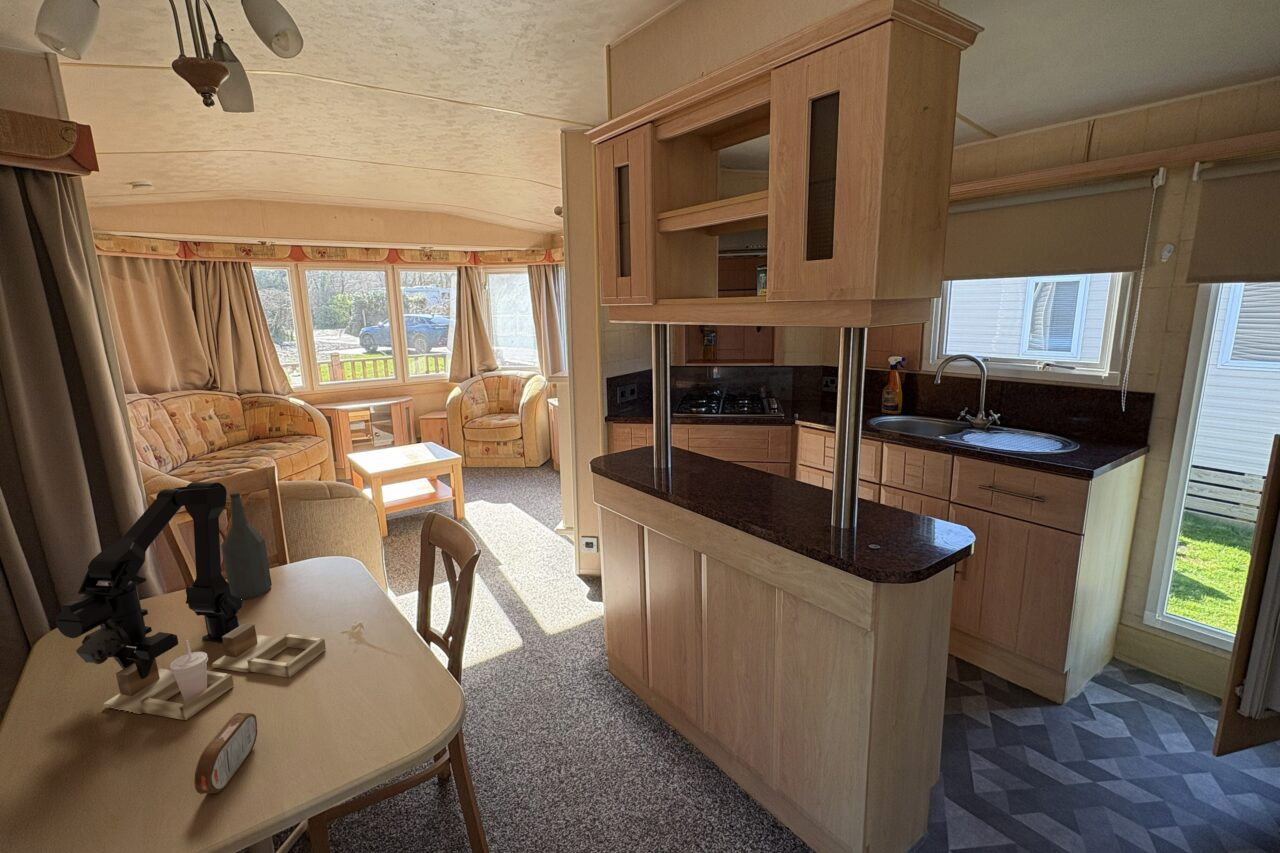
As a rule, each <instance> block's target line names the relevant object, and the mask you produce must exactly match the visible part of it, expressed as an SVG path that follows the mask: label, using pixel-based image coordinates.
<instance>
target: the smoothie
mask: <svg viewBox="0 0 1280 853" xmlns="http://www.w3.org/2000/svg"><path fill="white" fill-rule="evenodd" d="M184 642H185V646H186V650H187V653H186V654H183V655H181V656H179V657H177V658H176V659H174V660H173V661H171V663H170V664H169V670H170V672H171V673H173V674H174V677H175V679H176V681H177V684H178V686H179V689H180V691H179V692H180V693H181V695H182V699H183V701H184V704H185V703H187V702H188V701H190V700H191V699H193V698H194V697H196V696H197V695H198V694H200V693H201V692H203V691H204V690H206V689H207V688H208V685H207V671H208V669H207V668H208V666H207V663H208V661H209V657H208V653H206V652H204V651H193V652H192V649H191V644H190V640H189V639H185V641H184Z"/></svg>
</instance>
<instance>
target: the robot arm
mask: <svg viewBox="0 0 1280 853" xmlns="http://www.w3.org/2000/svg"><path fill="white" fill-rule="evenodd" d="M227 494H228V493H227V487H226V486H225V485H223V484H222V483H221V482H213V481H212V482H211V481H209V482H208V481H192V482H190V483H188V484H187V485H185V486H177V487H173V488H164V489H162V490H160V491H159V492H158V493H157V495H156V498H155V499H154V500H153V502H152V503H151V504H150V505H149V506H148V508H147V509H146V510H145V511H144V512H143V513H142V514H141V516H140V517H139V518H138V519H137V521H135V523H134V524H133V525H132V526H131V527H130V529H128V530H127V532H126V533H125V534H124V535H123V537H121V538H120V539H119V540H118V541H116V542H114V543H112V544H111V545H108V546H106V547H105V548H104V549H102V551H100V552H99V553H98V554H97V555H96V556H94V557H93V558H92V559H91V561H90V562H89V563H88V566H87V572H86V573H85V576H84V578H83V580H82V583H81V585H80V587H79V590H78V592H77V594H78V595H79V596H81V597H79V598H77V599H75V600H72V601H69V602H66V603H64V604H62V605H61V610H62V611H61V612H59V613H58V615H57V617H56V620H55V624H56V627H57V629H58V631H59V632H60V633H61V634H62V635H63V636H64V637H66V638H68V639H69V638H70V639H77V638H79V637H81V636H82V635H84V634H86V633H88V632H90V631H92V630H93V629H95V628H97V627H99V626H100V628H99V629H97V630H95V631H93V632H91V633H89V634H87V635H85V636H84V638H83V639H82V641H81V645H80V646H79V647H77V649H76V650H75V652H76V653H77V655H78V656H79V657H80V658H81V659H82V660H83V661H84V662H85V663H91V664H95V665H101V664H104V663H105V662H106V661H107V660H108V658H113V659H114V660H115V661H116V662H117V664H118V665H119V666H120V667H121V669H122V670H123V669H124V668H126V667H128V666H130V665H131V664H133V663H135V665H136V667H137V670H138V673H139V675H140V677H141V679H144V678H146V677H147V676H148V674H149V672H150V669H151V666H152V664H153V661H154V659H155V658H156V659H157V657H159V656H161V655H163V654H165V653H167V652H168V651H170V650H172V649H173V648H175V647H177V646H178V645H179V638H178V635H177V634H174V633H169V632H162V631H159V632H157V633H155V634H153V635H149V636H147V635H148V634H150V633H151V632H152V631H153V630H152V627H151V626H146V624H145V619H144V617H145V616H147V615H149V612H148V609H145V608H142V605H141V601H140V596H139V592H138V586H139V585H141V584H143V583H145V582H147V578H145V577H142V576H139V575H138V573H139V572H140V570H141V569H142V567H143V565H144V563H145V561H146V552H147V550H148V549H149V547H150V546H151V545H152V544H153V542H154V541H155V540H156V539H157V538H158V536H159V535H160V534H161V533H162V531H163V530H164V529H165V527H167V525H168V524H169V522H170V521H171V520H172V519H173V518H174V516H175V515H176V514H177V513H178V512H179V510H180V509H181V508H182V507H184V508H185V510H186V512H187V514H188V515H189V516H190V517H191V519H192V522H193V533H194V534H193V536H194V537H193V538H194V539H193V540H194V541H193V542H194V556H195V558H194V560H195V573H196V574H195V575H196V576H195V579H194V581H193V583H192V585H191V586H187V587H185V594H186V600H185V604H187V605H188V608H189V610H191V611H192V612H194V613H195V615H196V616H203V617H204V621H205V622H204V623H205V626H206V632H207V634H205V635H204V636H202V640H204V641H209V642H211V641H212V642H216V643H217V642H218V643H223V639H222V637H223V636H224V635H226V634H227V633H229V632H231V631H232V630H234V629H235V628H237V627H239V626H240V624H239V618H238V615H237V614H238V613H239V611H240V610H241V609H242V607H243V600H244V599H242V600H241V599H239V598H237V597H234V596H232V595H231V592H230V587H229V584H228V582H227V579H226V578H225V577H224V576H223V574H222V563H221V562H222V561H221V559H222V558H221V543H220V542H221V538H220V522H219V521H220V516H221V514H222V512H223V511H224V510H225V508H226V505H227V504H226V503H227ZM98 583H110V584H111V585H103V584H102V585H101V584H98Z"/></svg>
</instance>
